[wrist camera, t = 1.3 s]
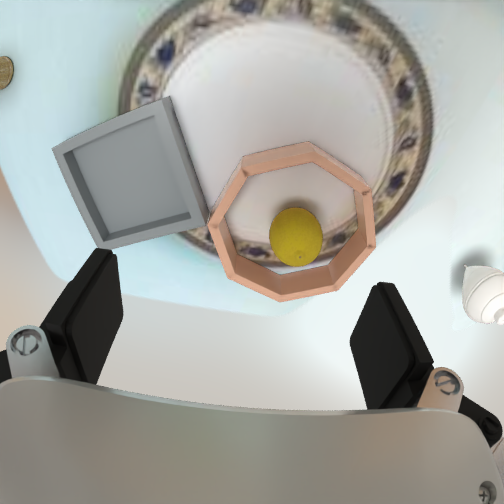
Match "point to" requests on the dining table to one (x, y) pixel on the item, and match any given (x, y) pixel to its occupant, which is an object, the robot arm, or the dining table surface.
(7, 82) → the sprinkles bottle
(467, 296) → the spinning top
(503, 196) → the dining table surface
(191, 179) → the grey tray
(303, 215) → the lemon
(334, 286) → the terracotta ring
